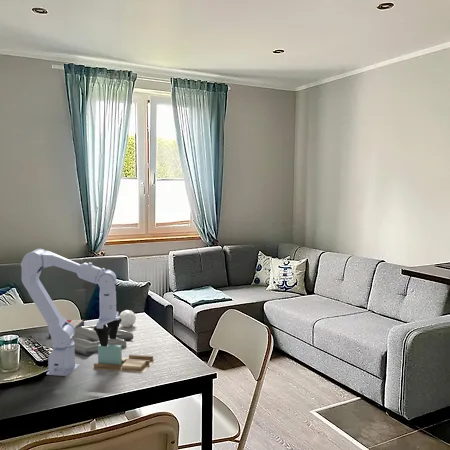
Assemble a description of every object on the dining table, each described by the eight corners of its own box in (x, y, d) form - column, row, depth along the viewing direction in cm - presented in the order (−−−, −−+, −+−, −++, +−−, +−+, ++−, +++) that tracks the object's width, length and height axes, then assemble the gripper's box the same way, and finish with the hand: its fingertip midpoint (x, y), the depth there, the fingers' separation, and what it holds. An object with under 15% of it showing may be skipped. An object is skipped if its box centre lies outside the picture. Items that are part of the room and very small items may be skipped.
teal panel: (119, 367, 165) (119, 347, 165) (98, 366, 167) (97, 345, 166) (121, 365, 167) (121, 345, 167) (100, 364, 169) (100, 343, 168)
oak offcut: (140, 368, 162) (140, 366, 162) (121, 367, 164) (121, 365, 163) (145, 363, 167) (145, 361, 167) (126, 362, 168) (126, 359, 168)
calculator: (84, 319, 215) (74, 327, 200) (84, 328, 215) (74, 337, 200) (60, 319, 215) (48, 327, 200) (60, 328, 215) (48, 337, 200)
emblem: (48, 342, 180) (77, 321, 207) (48, 355, 180) (78, 332, 208) (119, 345, 177) (139, 323, 205) (119, 358, 177) (139, 334, 205)
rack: (144, 375, 161) (144, 368, 161) (92, 371, 164) (92, 364, 164) (154, 362, 173) (154, 355, 173) (106, 358, 176) (106, 352, 176)
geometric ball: (130, 333, 214) (132, 322, 209) (114, 326, 215) (116, 315, 210) (137, 321, 220) (139, 310, 215) (122, 314, 221) (123, 304, 216)
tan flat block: (140, 371, 162) (140, 368, 162) (121, 369, 164) (121, 367, 164) (145, 365, 167) (145, 363, 167) (126, 364, 168) (126, 362, 168)
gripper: (110, 311, 158) (110, 350, 159) (126, 300, 172) (126, 336, 173) (90, 309, 159) (91, 348, 160) (108, 299, 173) (108, 335, 174)
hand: (108, 342), depth 167 cm, fingers open, 7 cm apart
